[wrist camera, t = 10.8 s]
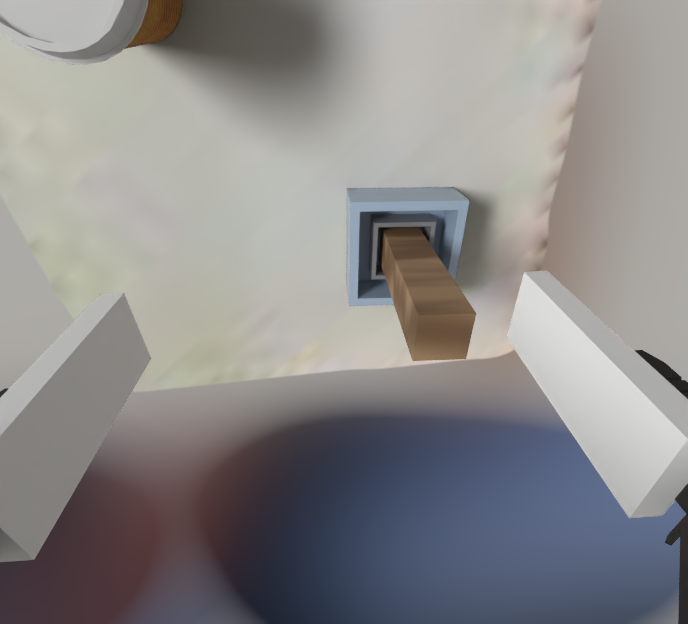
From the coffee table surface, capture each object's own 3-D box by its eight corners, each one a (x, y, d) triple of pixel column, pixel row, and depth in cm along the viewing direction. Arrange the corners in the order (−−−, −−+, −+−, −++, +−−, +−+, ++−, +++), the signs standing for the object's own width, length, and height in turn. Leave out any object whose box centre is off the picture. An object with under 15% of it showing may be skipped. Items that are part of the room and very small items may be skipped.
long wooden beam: (381, 225, 36) (418, 315, 22) (417, 224, 36) (476, 313, 22) (379, 258, 38) (412, 360, 24) (413, 258, 38) (465, 358, 24)
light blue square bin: (347, 188, 34) (350, 202, 31) (453, 187, 35) (469, 200, 31) (346, 284, 40) (349, 306, 36) (438, 281, 40) (451, 303, 36)
